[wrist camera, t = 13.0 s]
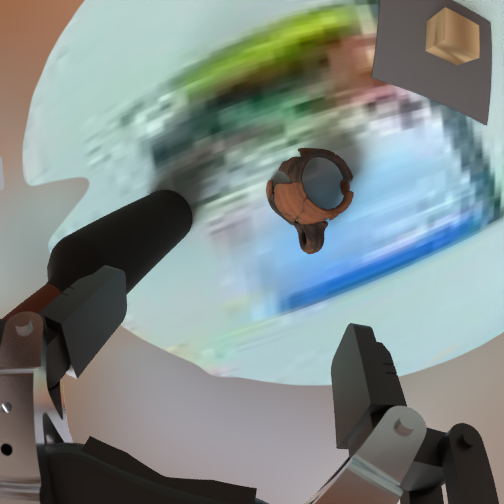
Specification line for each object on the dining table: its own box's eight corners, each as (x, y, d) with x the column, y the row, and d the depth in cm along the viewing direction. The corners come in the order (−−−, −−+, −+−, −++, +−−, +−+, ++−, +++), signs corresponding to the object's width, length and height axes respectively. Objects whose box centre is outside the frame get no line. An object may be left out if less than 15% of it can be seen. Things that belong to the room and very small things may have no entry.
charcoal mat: (488, 23, 21) (490, 22, 20) (485, 125, 28) (486, 125, 27) (381, -28, 22) (382, -29, 21) (371, 77, 29) (372, 77, 28)
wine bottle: (189, 247, 41) (50, 415, 13) (141, 236, 41) (-15, 367, 14) (195, 194, 38) (12, 328, 10) (145, 185, 38) (-48, 283, 11)
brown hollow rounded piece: (254, 161, 36) (278, 142, 28) (320, 157, 38) (355, 141, 30) (270, 257, 37) (298, 262, 29) (334, 244, 39) (372, 246, 31)
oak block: (457, 36, 23) (478, 25, 18) (456, 65, 25) (479, 57, 20) (426, 21, 24) (445, 7, 18) (425, 50, 25) (445, 39, 20)
